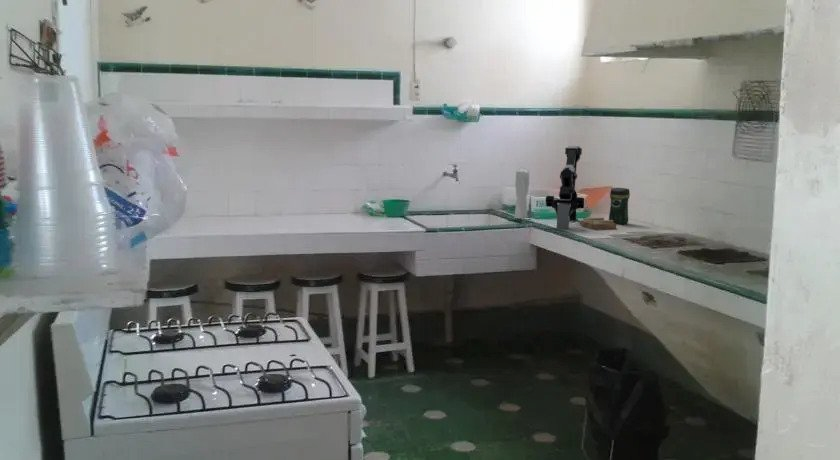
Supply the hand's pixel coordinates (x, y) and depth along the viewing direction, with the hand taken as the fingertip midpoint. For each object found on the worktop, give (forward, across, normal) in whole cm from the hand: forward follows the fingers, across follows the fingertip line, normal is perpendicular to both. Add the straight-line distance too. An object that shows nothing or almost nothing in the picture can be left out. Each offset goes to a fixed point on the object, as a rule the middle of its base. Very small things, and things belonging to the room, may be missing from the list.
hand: (563, 215), depth 374 cm
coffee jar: (-17, +25, +27) cm, 41 cm away
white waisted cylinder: (-13, -24, +23) cm, 36 cm away
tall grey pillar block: (+4, 0, +6) cm, 7 cm away
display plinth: (-4, +16, +13) cm, 21 cm away
